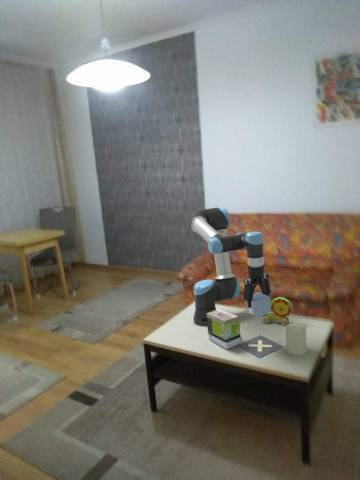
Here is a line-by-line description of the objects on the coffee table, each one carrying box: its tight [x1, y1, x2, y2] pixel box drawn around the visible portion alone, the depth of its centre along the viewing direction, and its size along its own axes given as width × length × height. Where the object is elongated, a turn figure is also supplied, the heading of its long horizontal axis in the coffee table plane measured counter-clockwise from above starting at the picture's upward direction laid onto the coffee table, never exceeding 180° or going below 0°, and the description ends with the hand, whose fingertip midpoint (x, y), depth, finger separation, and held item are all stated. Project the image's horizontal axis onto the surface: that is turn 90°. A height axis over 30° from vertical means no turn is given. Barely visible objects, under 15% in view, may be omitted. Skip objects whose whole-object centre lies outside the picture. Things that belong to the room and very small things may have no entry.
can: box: [285, 322, 308, 356], centre depth 168 cm, size 9×9×12 cm
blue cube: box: [245, 291, 272, 318], centre depth 172 cm, size 8×8×8 cm
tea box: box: [206, 308, 242, 350], centre depth 183 cm, size 15×10×15 cm, turn 32°
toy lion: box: [262, 296, 293, 327], centre depth 197 cm, size 16×5×15 cm, turn 63°
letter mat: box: [236, 334, 285, 359], centre depth 176 cm, size 16×16×1 cm
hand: (258, 310), depth 173 cm, fingers closed on blue cube, 8 cm apart
